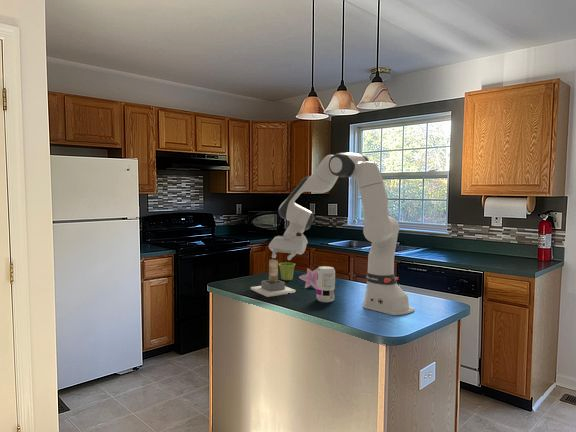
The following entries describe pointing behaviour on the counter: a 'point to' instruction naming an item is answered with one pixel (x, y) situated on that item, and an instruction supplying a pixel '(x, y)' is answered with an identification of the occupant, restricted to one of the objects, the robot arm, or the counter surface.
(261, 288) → the docking plate
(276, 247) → the robot arm
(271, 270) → the beech peg
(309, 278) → the lily
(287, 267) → the plant pot
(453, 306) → the counter surface
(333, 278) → the supplement can
